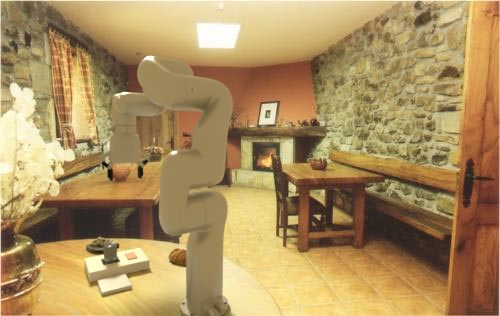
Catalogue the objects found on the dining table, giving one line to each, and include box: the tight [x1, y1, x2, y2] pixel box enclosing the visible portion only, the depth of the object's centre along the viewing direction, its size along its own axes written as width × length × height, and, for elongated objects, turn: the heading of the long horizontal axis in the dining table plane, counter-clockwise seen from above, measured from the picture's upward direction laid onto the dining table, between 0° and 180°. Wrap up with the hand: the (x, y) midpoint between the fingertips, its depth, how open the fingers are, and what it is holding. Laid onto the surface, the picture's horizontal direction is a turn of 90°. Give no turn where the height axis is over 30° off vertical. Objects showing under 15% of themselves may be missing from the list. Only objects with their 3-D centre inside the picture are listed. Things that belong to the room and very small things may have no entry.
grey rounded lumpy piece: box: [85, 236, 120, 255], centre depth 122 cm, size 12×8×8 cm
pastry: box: [168, 247, 186, 266], centre depth 112 cm, size 9×7×4 cm
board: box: [84, 247, 150, 283], centre depth 106 cm, size 12×18×3 cm, turn 123°
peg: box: [103, 244, 118, 265], centre depth 104 cm, size 4×4×8 cm
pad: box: [97, 274, 133, 297], centre depth 94 cm, size 8×8×1 cm
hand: (125, 179), depth 112 cm, fingers open, 9 cm apart
